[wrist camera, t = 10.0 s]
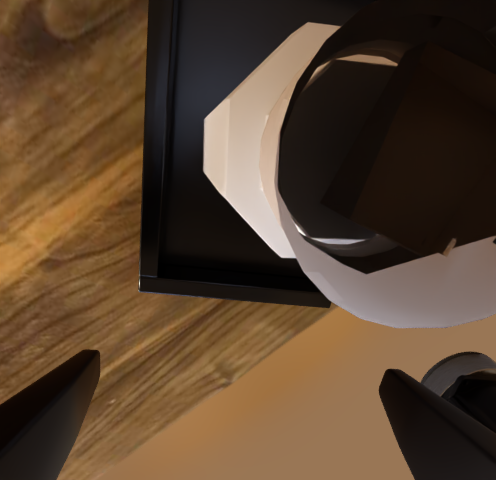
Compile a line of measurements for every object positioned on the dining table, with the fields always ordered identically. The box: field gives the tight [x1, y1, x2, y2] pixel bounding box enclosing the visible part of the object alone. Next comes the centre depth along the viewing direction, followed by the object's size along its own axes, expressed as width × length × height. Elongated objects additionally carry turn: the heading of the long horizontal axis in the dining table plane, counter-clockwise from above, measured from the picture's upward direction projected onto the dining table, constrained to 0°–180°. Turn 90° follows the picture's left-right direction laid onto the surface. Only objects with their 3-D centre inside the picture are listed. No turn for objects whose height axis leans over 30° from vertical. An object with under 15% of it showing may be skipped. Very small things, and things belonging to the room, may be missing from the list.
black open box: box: [138, 0, 377, 308], centre depth 14 cm, size 9×14×8 cm, turn 171°
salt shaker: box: [203, 0, 496, 328], centre depth 7 cm, size 5×5×11 cm
